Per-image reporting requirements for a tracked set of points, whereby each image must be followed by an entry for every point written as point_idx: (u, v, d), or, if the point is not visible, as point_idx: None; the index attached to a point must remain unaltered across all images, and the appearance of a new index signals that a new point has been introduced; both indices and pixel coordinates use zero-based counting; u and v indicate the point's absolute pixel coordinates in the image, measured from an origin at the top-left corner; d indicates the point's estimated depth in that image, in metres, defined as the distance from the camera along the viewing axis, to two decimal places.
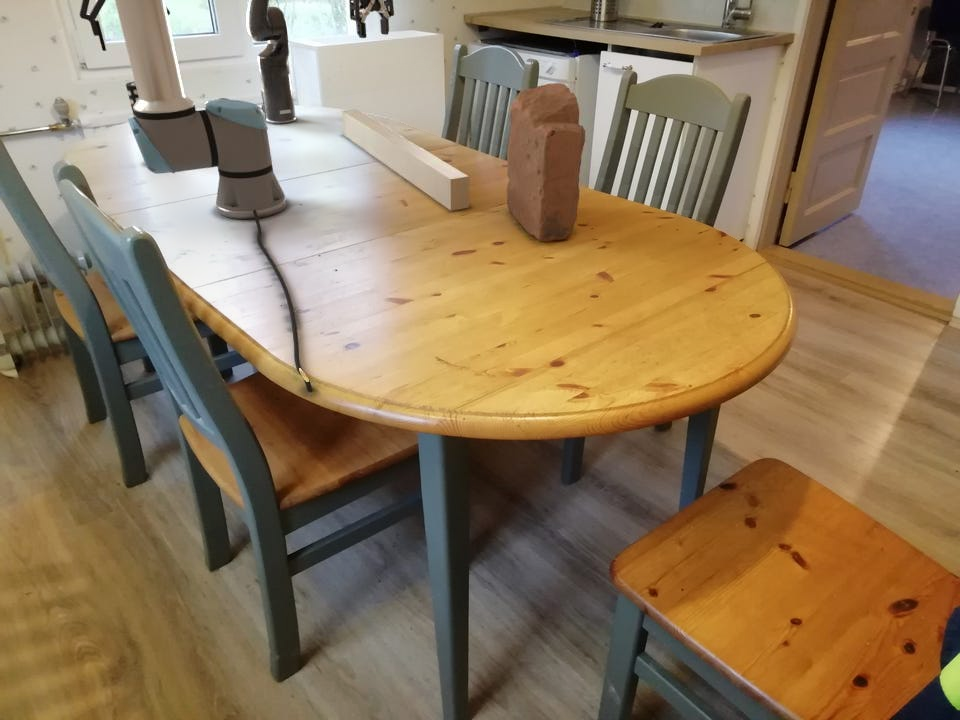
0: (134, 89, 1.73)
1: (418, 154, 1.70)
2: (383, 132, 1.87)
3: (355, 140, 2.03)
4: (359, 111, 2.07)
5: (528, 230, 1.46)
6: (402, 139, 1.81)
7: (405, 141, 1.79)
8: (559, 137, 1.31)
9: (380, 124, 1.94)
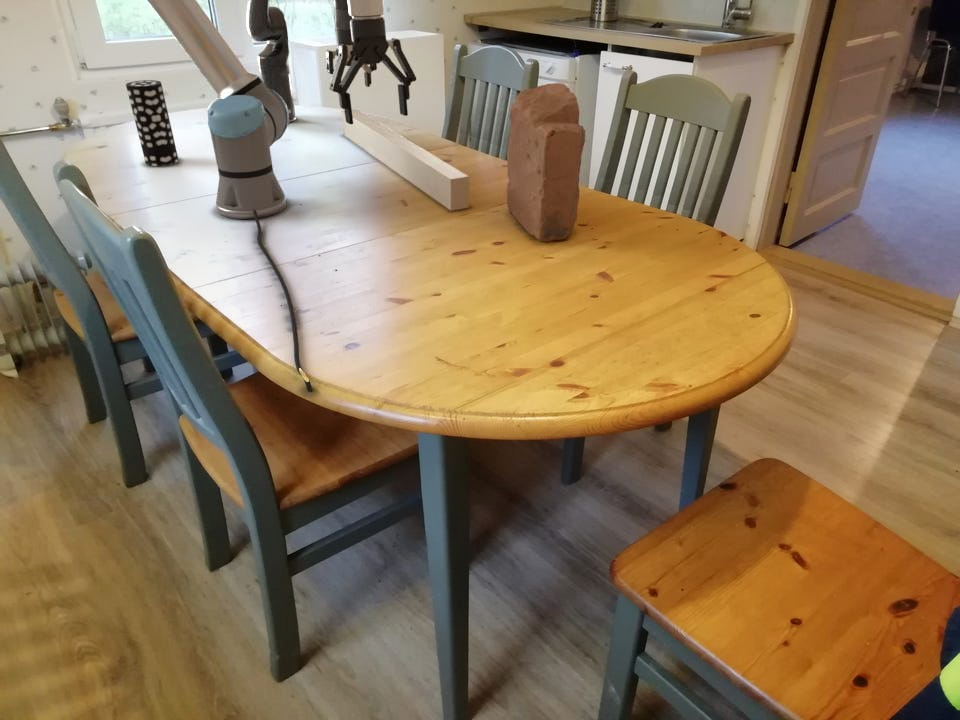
0: (134, 89, 1.73)
1: (418, 154, 1.70)
2: (383, 132, 1.87)
3: (355, 140, 2.03)
4: (359, 111, 2.07)
5: (528, 230, 1.46)
6: (402, 139, 1.81)
7: (405, 141, 1.79)
8: (559, 137, 1.31)
9: (380, 124, 1.94)
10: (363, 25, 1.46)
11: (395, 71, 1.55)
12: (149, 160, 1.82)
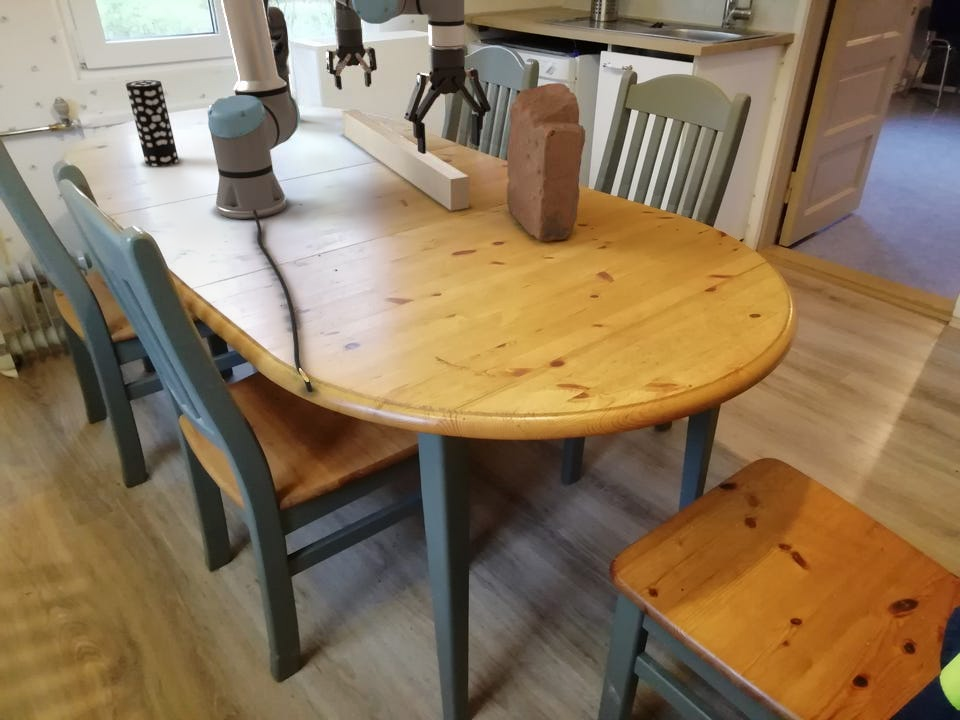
0: (134, 89, 1.73)
1: (418, 154, 1.70)
2: (383, 132, 1.87)
3: (355, 140, 2.03)
4: (359, 111, 2.07)
5: (528, 230, 1.46)
6: (402, 139, 1.81)
7: (405, 141, 1.79)
8: (559, 137, 1.31)
9: (380, 124, 1.94)
10: (444, 56, 1.42)
11: (471, 101, 1.52)
12: (149, 160, 1.82)
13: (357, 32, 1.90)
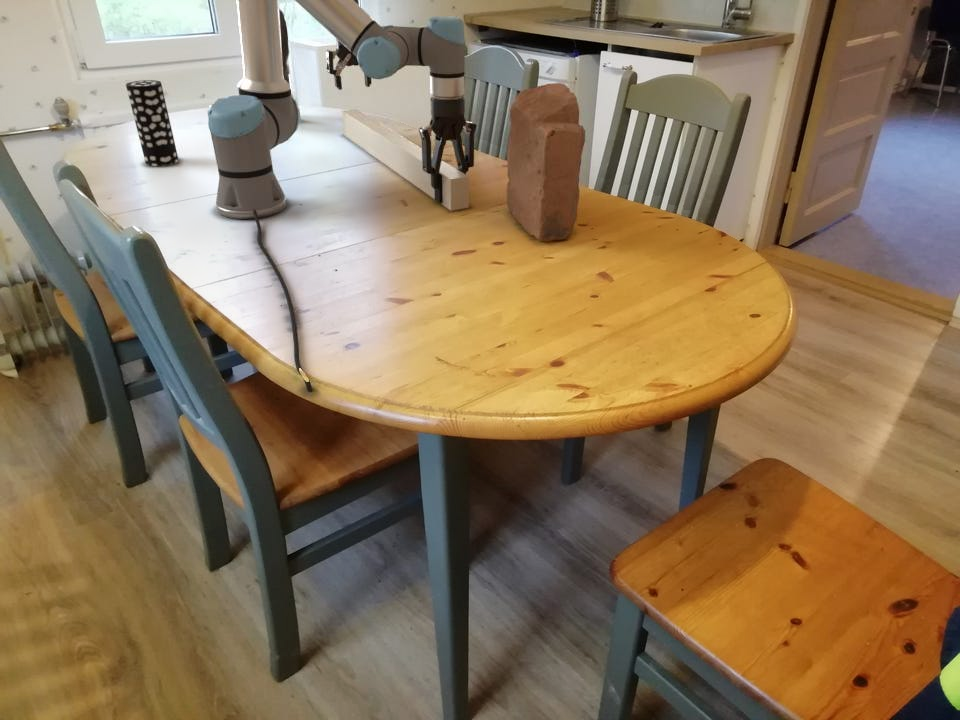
0: (134, 89, 1.73)
1: (418, 154, 1.70)
2: (383, 132, 1.87)
3: (355, 140, 2.03)
4: (359, 111, 2.07)
5: (528, 230, 1.46)
6: (402, 139, 1.81)
7: (405, 141, 1.79)
8: (559, 137, 1.31)
9: (380, 124, 1.94)
10: (444, 105, 1.48)
11: (460, 153, 1.57)
12: (149, 160, 1.82)
13: None
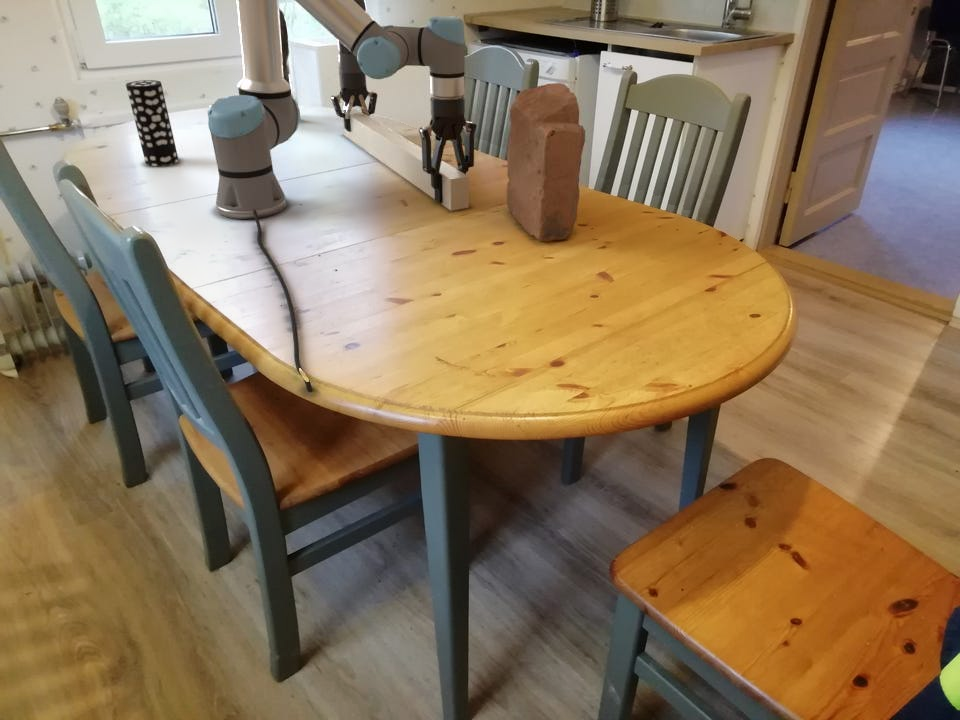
0: (134, 89, 1.73)
1: (418, 154, 1.70)
2: (383, 132, 1.87)
3: (355, 140, 2.03)
4: (359, 111, 2.07)
5: (528, 230, 1.46)
6: (402, 139, 1.81)
7: (405, 141, 1.79)
8: (559, 137, 1.31)
9: (380, 124, 1.94)
10: (444, 105, 1.48)
11: (460, 153, 1.57)
12: (149, 160, 1.82)
13: (361, 75, 1.96)
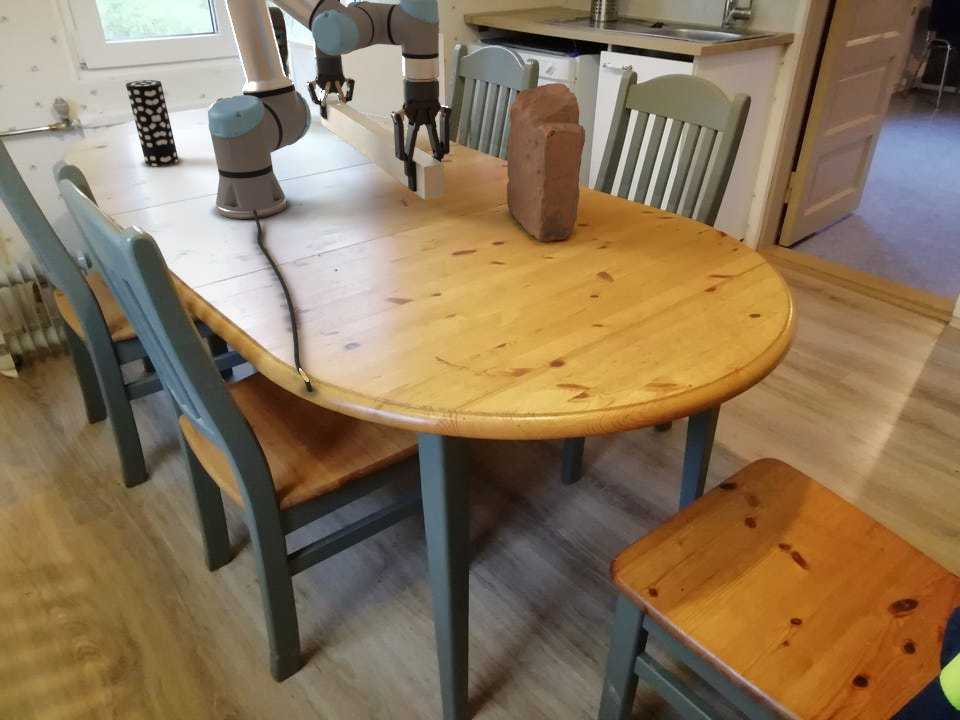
0: (134, 89, 1.73)
1: (393, 141, 1.62)
2: (359, 119, 1.79)
3: (332, 128, 1.96)
4: (336, 98, 1.99)
5: (528, 230, 1.46)
6: (378, 126, 1.74)
7: (380, 129, 1.72)
8: (559, 137, 1.31)
9: (356, 111, 1.86)
10: (418, 88, 1.40)
11: (435, 139, 1.50)
12: (149, 160, 1.82)
13: (337, 61, 1.88)
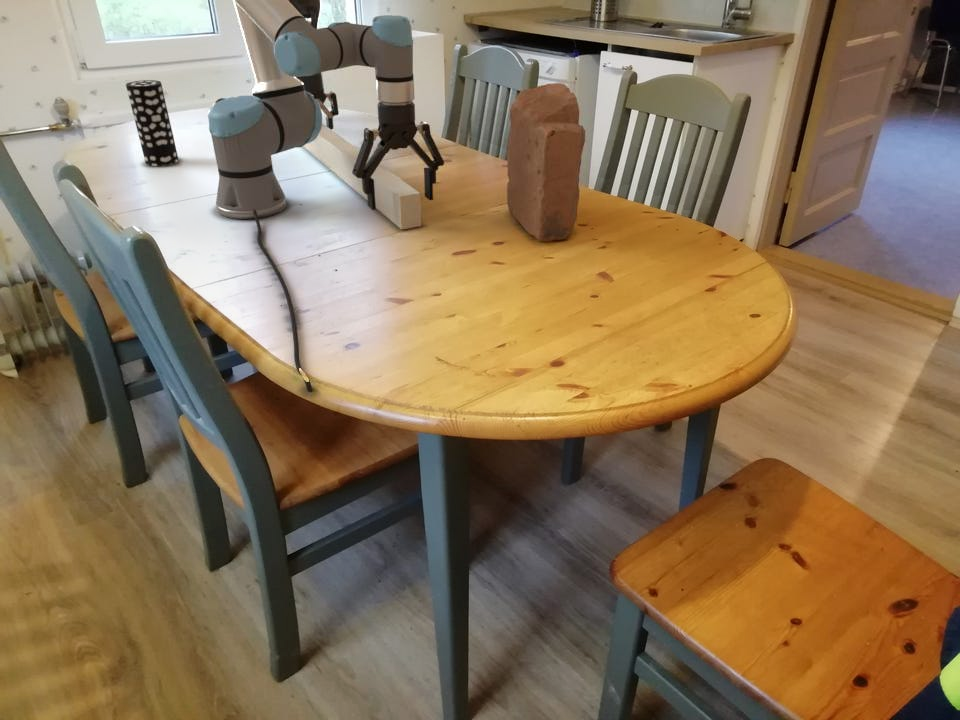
0: (134, 89, 1.73)
1: None
2: (338, 144, 1.77)
3: (313, 151, 1.93)
4: None
5: (528, 230, 1.46)
6: (357, 151, 1.71)
7: None
8: (559, 137, 1.31)
9: (337, 135, 1.84)
10: (392, 112, 1.37)
11: (422, 156, 1.46)
12: (149, 160, 1.82)
13: (317, 78, 1.85)
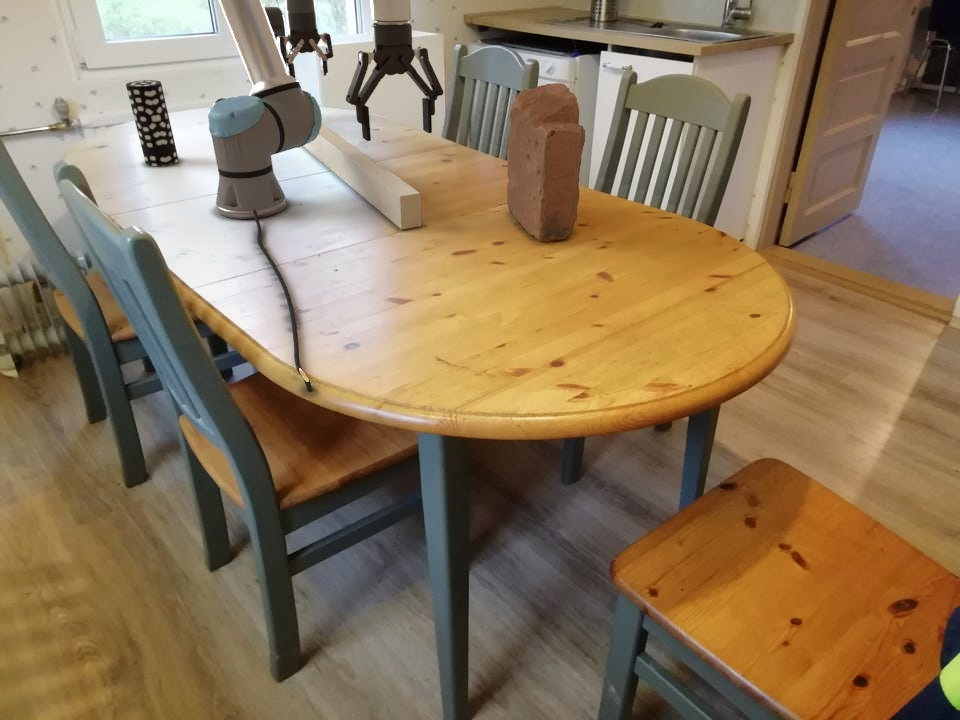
0: (134, 89, 1.73)
1: (371, 168, 1.60)
2: (338, 144, 1.77)
3: (313, 151, 1.93)
4: None
5: (528, 230, 1.46)
6: (357, 151, 1.71)
7: (359, 154, 1.69)
8: (559, 137, 1.31)
9: (337, 135, 1.84)
10: (387, 31, 1.29)
11: (420, 83, 1.38)
12: (149, 160, 1.82)
13: (310, 16, 1.77)
